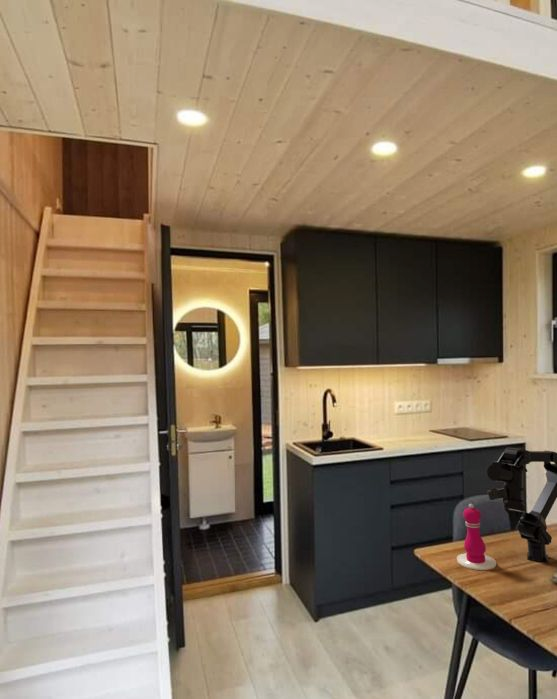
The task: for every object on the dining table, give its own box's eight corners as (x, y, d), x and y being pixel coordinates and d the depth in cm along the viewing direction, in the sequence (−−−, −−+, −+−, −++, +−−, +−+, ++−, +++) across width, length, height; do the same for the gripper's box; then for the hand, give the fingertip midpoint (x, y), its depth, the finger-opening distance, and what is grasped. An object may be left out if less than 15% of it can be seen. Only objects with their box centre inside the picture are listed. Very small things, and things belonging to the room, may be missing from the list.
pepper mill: (470, 564, 152) (465, 507, 154) (461, 556, 159) (457, 501, 161) (490, 563, 152) (485, 506, 154) (481, 555, 159) (476, 500, 161)
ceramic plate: (460, 552, 164) (460, 550, 164) (497, 558, 158) (497, 556, 158) (454, 566, 153) (453, 563, 153) (494, 572, 147) (494, 570, 147)
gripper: (489, 478, 167) (487, 519, 164) (489, 480, 151) (486, 526, 148) (521, 483, 162) (520, 526, 159) (525, 486, 146) (523, 534, 143)
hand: (511, 528), depth 153 cm, fingers open, 9 cm apart
